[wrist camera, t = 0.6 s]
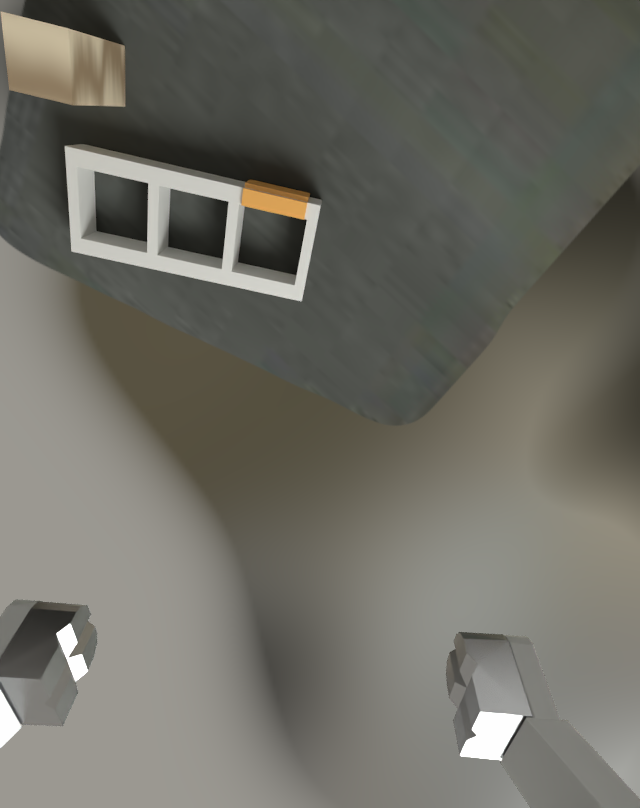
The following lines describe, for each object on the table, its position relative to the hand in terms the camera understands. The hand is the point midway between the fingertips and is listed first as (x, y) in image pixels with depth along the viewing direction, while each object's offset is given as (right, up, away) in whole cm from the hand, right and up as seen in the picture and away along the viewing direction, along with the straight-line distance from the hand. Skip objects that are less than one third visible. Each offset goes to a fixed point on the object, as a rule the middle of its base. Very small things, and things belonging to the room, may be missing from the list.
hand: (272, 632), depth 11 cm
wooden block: (-19, +35, +32) cm, 51 cm away
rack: (-11, +24, +38) cm, 46 cm away
